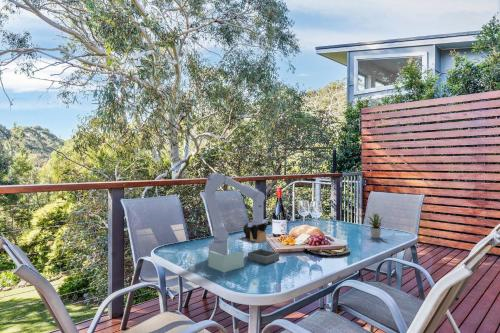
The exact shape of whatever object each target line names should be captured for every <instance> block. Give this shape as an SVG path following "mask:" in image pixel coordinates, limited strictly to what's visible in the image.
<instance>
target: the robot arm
mask: <svg viewBox="0 0 500 333" xmlns="http://www.w3.org/2000/svg"><path fill="white" fill-rule="evenodd" d="M222 185H229V186H231V187H232V188H235V189H237V190H239V192H240V194H241V195H244V196H245V197H247V198H249V199H251V200H252V221H249V222H250V223H249V222H247V223H248V227H249V229H250V231H251V233H252V237H253V239H255V240H256V239H257V232H258V229H259V231H264V232H266V230H267V227H268V223H269V222H268V221H269V219H264V201H265V199H266V196H265V194H264V192H263V191H259V188H254V187H253V186H251V184H249V183H248V184H247V183H244V184H242V183H240V182H239V181H237V180H235V179H233V178H231V177H229V176H227V175H225V174H223V173H217V172H212V173H210V174H209V175H208V177H207V179H206V183H205V185H204V186H205V187H204V195H205V199H206V202H207V207H208V211H209V213H210V218H211V222H212V236H213V241H211V242H210V243H209V245H208V251H213V252H216V253H219V254H222V255H228V239H229V235H230V234H229V232H228V230H227V229H226V226H225V225H224V221H223V218H222V216H221V211H220V208H219V205H218V200H217V197H216V192H217V191H218V189H219V188H221V186H222ZM256 225H258V227H256Z"/></svg>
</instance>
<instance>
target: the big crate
mask: <svg viewBox="0 0 500 333" xmlns="http://www.w3.org/2000/svg"><path fill="white" fill-rule="evenodd" d="M247 260H248V261H251V262H255V263H260V264H264V265H269V264H271V263H273V262H277V261H279V260H280V252H276V251H272V250H267V249H263V248H259V249H256V250H252V251H250V252H247Z"/></svg>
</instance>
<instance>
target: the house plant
mask: <svg viewBox="0 0 500 333" xmlns="http://www.w3.org/2000/svg"><path fill="white" fill-rule="evenodd" d="M372 213H373V214H372V215H373V216H372V217H373V218H372V217H371V216H370V215H369V214H366V216H367V218H369V220H366V222H365V223H366V224H367V223H368V222H369V224H370V227H369V230H370V236H371V238H373V239H380V238H381V232H382V227H381V226H384V223H385V221H382V219H383V217H381V218H380V216H379V214H378V212H376V213H374V212H372ZM382 222H383V224H382Z"/></svg>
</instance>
